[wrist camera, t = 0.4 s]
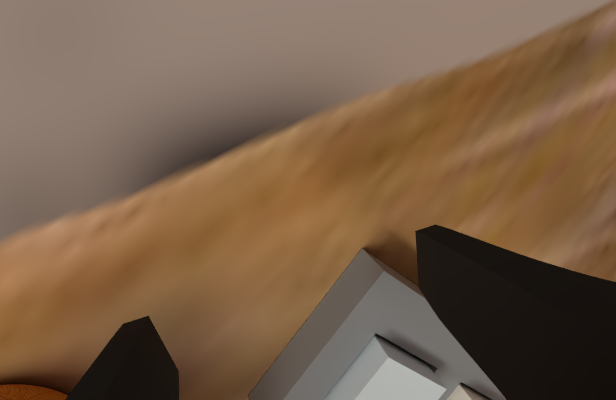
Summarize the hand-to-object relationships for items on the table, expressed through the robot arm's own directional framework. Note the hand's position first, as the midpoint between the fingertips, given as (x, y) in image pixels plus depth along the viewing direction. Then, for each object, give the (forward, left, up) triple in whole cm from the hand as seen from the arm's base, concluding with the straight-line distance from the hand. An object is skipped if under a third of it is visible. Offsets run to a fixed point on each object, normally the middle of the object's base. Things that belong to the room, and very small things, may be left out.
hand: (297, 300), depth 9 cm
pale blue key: (-5, -12, -8) cm, 16 cm away
